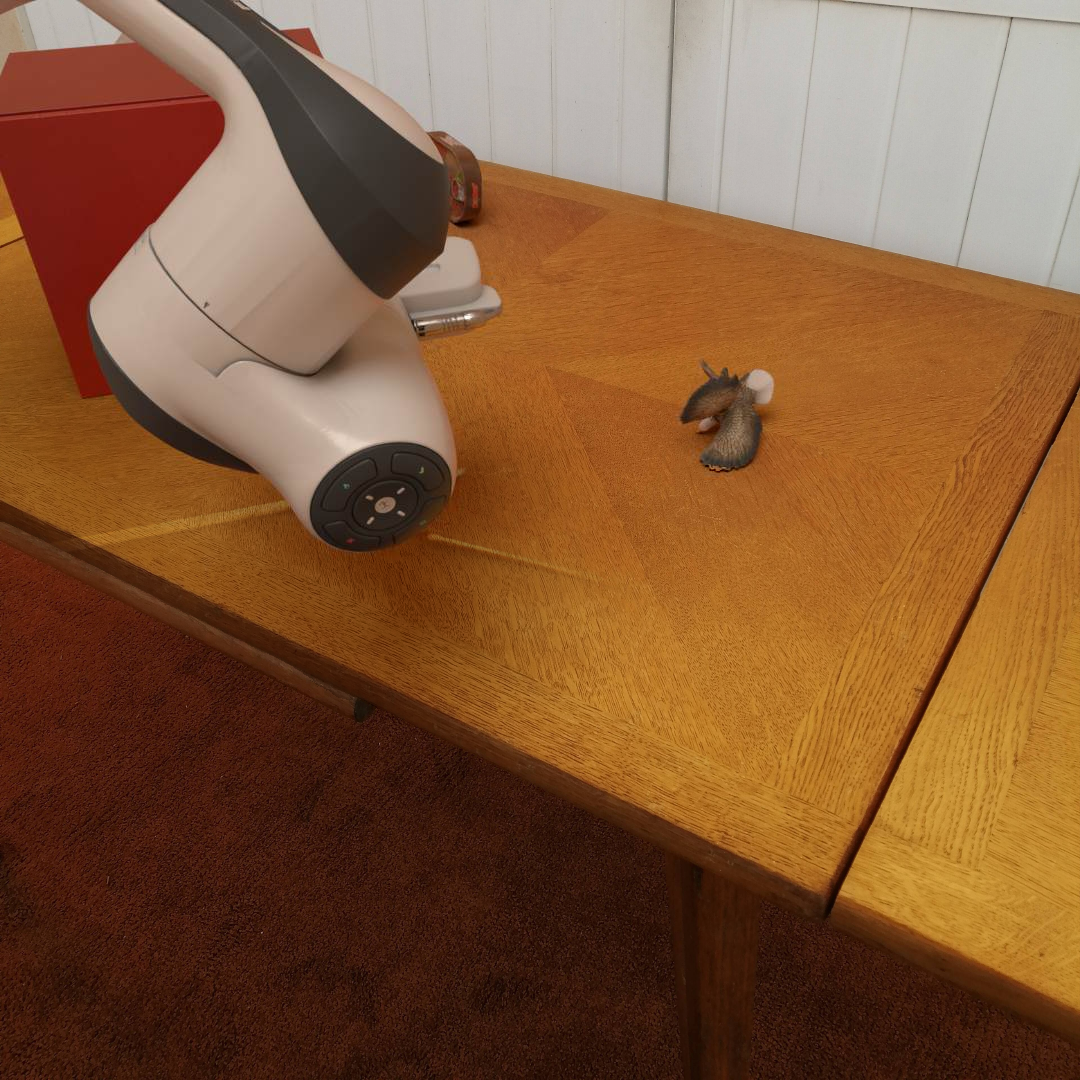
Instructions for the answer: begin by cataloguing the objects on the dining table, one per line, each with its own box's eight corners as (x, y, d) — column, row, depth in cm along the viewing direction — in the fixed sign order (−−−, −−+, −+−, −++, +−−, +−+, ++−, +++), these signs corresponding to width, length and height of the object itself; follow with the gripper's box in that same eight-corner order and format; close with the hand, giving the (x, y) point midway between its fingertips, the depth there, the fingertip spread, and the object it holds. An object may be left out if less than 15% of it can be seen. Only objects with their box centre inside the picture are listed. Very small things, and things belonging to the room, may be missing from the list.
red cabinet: (371, 348, 97) (335, 81, 81) (83, 393, 91) (-17, 115, 75) (345, 270, 110) (309, 27, 94) (92, 304, 104) (8, 52, 88)
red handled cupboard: (382, 382, 92) (347, 108, 76) (78, 430, 86) (-28, 146, 70) (371, 348, 96) (335, 84, 81) (82, 393, 91) (-16, 118, 75)
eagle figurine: (671, 393, 88) (655, 432, 80) (724, 332, 84) (713, 367, 76) (738, 446, 88) (728, 490, 81) (793, 388, 85) (789, 428, 77)
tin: (415, 191, 127) (409, 122, 121) (438, 186, 128) (433, 118, 123) (464, 234, 117) (459, 161, 111) (488, 229, 118) (485, 156, 112)
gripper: (509, 269, 58) (456, 185, 69) (145, 321, 54) (146, 223, 64) (512, 364, 63) (462, 271, 73) (174, 419, 58) (171, 312, 68)
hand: (311, 249), depth 69 cm, fingers open, 8 cm apart
